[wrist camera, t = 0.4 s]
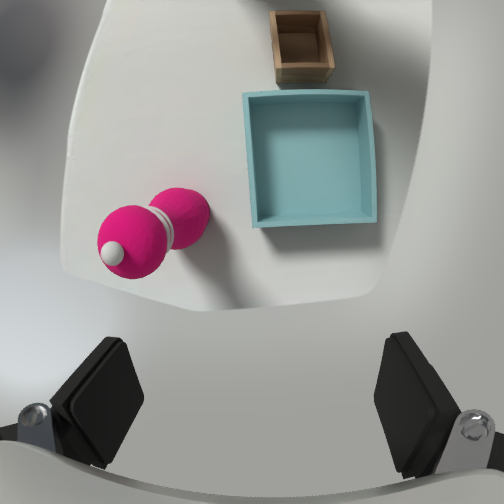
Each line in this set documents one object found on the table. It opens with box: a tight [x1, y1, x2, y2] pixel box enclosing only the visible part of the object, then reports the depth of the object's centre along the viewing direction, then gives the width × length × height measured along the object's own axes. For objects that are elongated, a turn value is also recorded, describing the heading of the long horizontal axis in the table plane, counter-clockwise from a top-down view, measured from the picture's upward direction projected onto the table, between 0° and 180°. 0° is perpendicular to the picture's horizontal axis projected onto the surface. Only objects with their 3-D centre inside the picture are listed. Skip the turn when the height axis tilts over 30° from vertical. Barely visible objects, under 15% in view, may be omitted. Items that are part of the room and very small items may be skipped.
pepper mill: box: [97, 188, 210, 279], centre depth 28 cm, size 7×7×20 cm
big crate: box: [242, 89, 377, 228], centre depth 32 cm, size 15×14×5 cm
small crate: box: [269, 11, 335, 83], centre depth 28 cm, size 8×6×6 cm
